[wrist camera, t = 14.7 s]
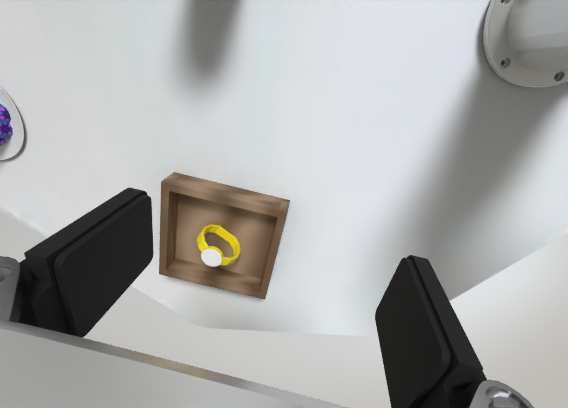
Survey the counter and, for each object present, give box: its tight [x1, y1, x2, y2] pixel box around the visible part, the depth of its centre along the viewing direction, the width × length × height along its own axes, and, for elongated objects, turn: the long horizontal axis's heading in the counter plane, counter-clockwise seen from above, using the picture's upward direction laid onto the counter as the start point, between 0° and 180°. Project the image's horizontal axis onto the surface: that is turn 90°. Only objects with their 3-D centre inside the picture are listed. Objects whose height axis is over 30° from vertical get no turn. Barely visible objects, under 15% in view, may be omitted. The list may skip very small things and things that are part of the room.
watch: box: [197, 225, 241, 267], centre depth 38 cm, size 6×3×6 cm, turn 51°
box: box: [159, 172, 290, 299], centre depth 39 cm, size 16×15×4 cm
